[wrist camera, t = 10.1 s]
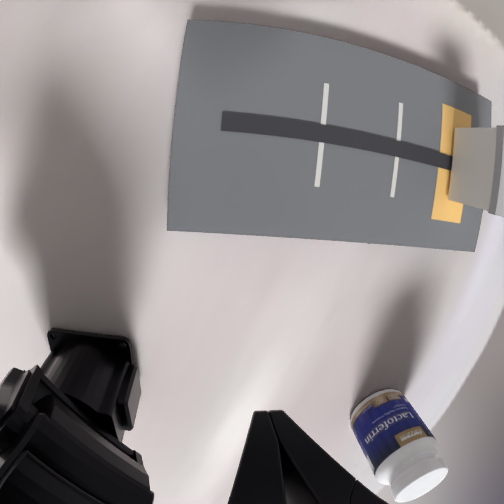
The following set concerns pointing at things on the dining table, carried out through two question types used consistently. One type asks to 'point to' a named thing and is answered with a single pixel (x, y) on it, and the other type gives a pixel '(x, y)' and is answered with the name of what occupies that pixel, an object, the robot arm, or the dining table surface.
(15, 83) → the dining table surface
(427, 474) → the pill bottle
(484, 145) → the fader
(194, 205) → the mixing board
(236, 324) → the dining table surface
